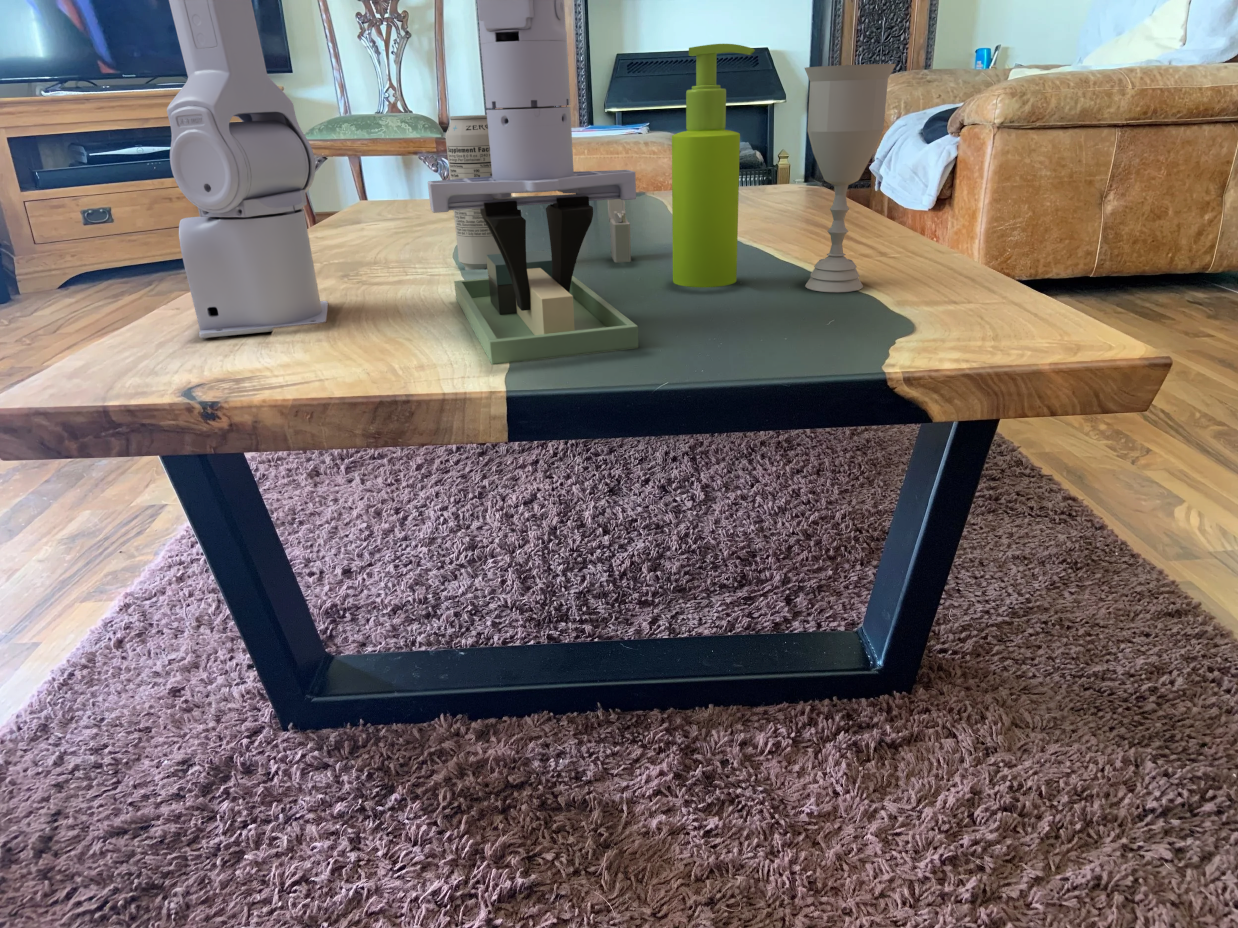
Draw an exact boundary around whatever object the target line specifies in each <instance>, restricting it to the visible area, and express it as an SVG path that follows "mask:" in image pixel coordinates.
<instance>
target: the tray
mask: <svg viewBox="0 0 1238 928" xmlns="http://www.w3.org/2000/svg"><path fill="white" fill-rule="evenodd" d="M453 282H454V291H455V292H454V293H455V299H456V301H457V303H458V305H459V307H460V308H461V310H462V313H463V314H464V316H465V318H466V320H467V322H468V324H469V325H470V327H471V329H472V330H473V332H474V334H475V336H476V338H477V340H478V341H479V344H480V345H481V347H482V349H483V351H484V353H485V355H486V356H487V359H488V360H489V362H490V364H491V365H492V366H494V365H501V364H503V365H504V364H511V363H520V362H527V361H529V362H530V361H537V360H538V361H539V360H546V359H555V358H556V359H557V358H564V357H571V356H581V355H588V354H589V355H590V354H599V353H607V352H615V351H616V352H617V351H624V350H633V349H634V350H635V349H639V326H638V325H637V324H636V323H635V322H633V321H632V320H631V319H629V317H627V316H626V315H624V314H623V313H621V311H619V310H618V309H616V308H615V307H614V306H613V305H611V304H610V303H609V302H608V301H606V300H605V299H603V297H601V295H599V294H597V293H596V292H595V291H594V290H592V289H591V288H590V287H588V286H587V285H586V284H584V283H583V282H581V280H580V279H578V278H577V277H575V276H574V274H573V275H572V280H571V286H570V292H569V293H570V294H571V295H572V296H573V310H574V329H575V331H568V332H558V333H549V334H540V335H534V334H533V333H532V331H531V330H530V329H529V328H528V326H527V325H526V324H525V323H524V321H523V320H522V319H521V317H520V316H519V315H518V314H517V313H513V314H503V315H500V314H499V312H498V311H497V310H496V308H495V307H494V305H493V304H492V303H491V300H490V289H489V279H488V277H483V278H472V279H461V280H460V279H459V280H454V281H453Z"/></svg>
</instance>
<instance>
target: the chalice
mask: <svg viewBox="0 0 1238 928" xmlns="http://www.w3.org/2000/svg"><path fill="white" fill-rule="evenodd" d="M896 65H897V63H870V64H866V63H865V64H845V65H844V64H843V65H842V64H841V65H823V66H808V67H807V66H806V67H804V71H805V73H806V75H807V78H808V80H809V94H808V95H809V96H808V114H807V135H808V139H809V143H810V145H811V150H812V154H813V157H814V159H815V161H816V163H817V165H818V166H817V167H818V168H819V171H820V174H821V175H822V178H823V181H825V182H827V183H828V184H830V185H833V189H834V190H833V191H834V198H833V202H832V205H831V207H830V208H829V210H830V212H831V214H832V223H831V226H830V228H828V230H827V233H828V234H829V235H830V241H831V243H830V244H831V245H830V250H829V253H826V257H824V258H821V259H819V260H818V261H817V262H816V263H815V264H814V265H813V267H814V268H813V270H812V272H810V275H809V279H808V280H807V282H806V284H805V286H804V287H805V288H807V289H808V290H811V291H817V292H822V293H823V292H824V293H849V292H855V291H860V290H861V289H863V288H864V285H863V284H862V282H861V280H860V274H859V272H858V270H857V267H858V266H857V265H856V263H855V262H854V260H853V259H850V258H847V257H846V253H844V250H843V243H844V240H845V236H846V234H847V233H848V232H849V229H848V228H847V227H846V223H845V218H846V216H847V213H848V211H850V207H849V206H848V202H847V192H848V190H849V189H848V188H849V185H852V184H854V183H856V182H858V181H859V180H860V179H861V177H862V175H863V174H864V171H865V169H866V168H867V166H868V164H869V162H870V160H871V158H872V157H873V155H874V153H875V151H876V149H877V146H878V144H879V142H880V139H881V136H882V134H883V132H884V127H885V116H886V106H887V105H886V104H887V96H888V95H887V93H888V83H889V78H890V76H891V75H892V73H893V71H894V69H895V67H896Z"/></svg>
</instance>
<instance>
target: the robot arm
mask: <svg viewBox="0 0 1238 928" xmlns="http://www.w3.org/2000/svg"><path fill="white" fill-rule="evenodd" d="M168 2H169V7H170V10H171V11H170V12H171V15H172V19H173V23H174V27H175V31H176V34H177V39H178V42H179V46H180V47H179V48H180V51H181V55H182V58H183V62H184V67H185V71H186V75H187V80H186V81H185V84H184V85H183V86H182V87H181V89H180V90H179V91H178V92H177V94H176V95H175V96H174V98H173V99H172V100H171V101H170V103H169V104H168V105H167V107H166V113H167V117H168V121H169V125H170V132H171V142H170V149H169V162H170V164H169V165H170V168H171V173H172V176H173V179H174V181H175V183H176V185H177V187H178V189H179V190H180V192H181V193H182V194H183V196H184V197H185V198H186V199H187V200H188V201H189V202H190V203H191V204H193V206H195V207H197V210H198V214H199V215H198V216H192V217H191V216H190V217H184V218H181V219H180V220H179V224H178V238H179V247H180V252H181V258H182V262H183V267H184V270H185V274H186V279H187V283H188V287H189V291H190V296H191V299H192V303H193V308H194V312H195V315H196V320H197V324H198V329H199V332H198V335H199V338H201V339H208V338H218V337H219V338H220V337H228V336H237V335H238V336H239V335H249V334H260V333H270V332H273V330H274V329H278V328H279V329H280V328H291V327H301V326H311V325H321V324H325V323H327V319H328V309H329V301H327V300H321V299H320V291H319V287H318V286H319V285H318V281H317V275H316V270H315V265H314V264H315V263H314V258H313V253H312V247H311V242H310V236H309V230H308V226H307V220H306V214H305V209H304V207H305V206H307V205H308V202H307V201H308V200H307V196H306V193H307V192H308V191H309V190H310V188H311V187H312V185H313V182H314V180H315V176H316V158H315V154H314V153H315V152H314V151H313V148H312V145H311V144H310V142H309V139H308V138H307V137H306V135H305V134H304V132H303V130H302V128H301V127H300V123H299V122H298V119H297V115H296V112H295V107H294V102H293V101H292V100H291V99H290V98H289V96H288V95H286V93H285V92H284V91H283V90H282V89H281V88H280V87H279V86H278V85H277V84H276V83H275V82H274V80H273V79H272V78H271V77H270V76H269V74H268V72H267V67H266V62H265V57H264V53H263V49H262V44H261V39H260V34H259V30H258V26H257V20H256V17H255V11H254V7H253V3H252V0H168ZM476 3H477V13H478V14H477V17H478V27H479V43H480V51H481V63H482V73H483V74H482V77H483V86H484V87H483V88H484V98H485V108H486V109H485V110H486V115H487V123H488V134H489V146H490V157H491V168H492V176H486V177H475V178H464V179H452V180H450V179H443V180H441V179H440V180H429V181H427V188H428V197H429V207H430V211H431V212H432V213H434V214H437V213H439V214H440V213H448V212H450V211H454V210H463V209H478V208H480V212H481V215H482V217H483V219H484V221H485V223H486V225H487V227H488V228H489V230H490V232H491V234H492V236H493V238H494V240H495V242H496V244H497V246H498V248H499V250H500V252H501V255H502V257H503V259H504V262H505V264H506V267H507V269H508V272H509V275H510V278H511V281H512V284H513V288H514V292H515V296H516V301H517V306H518V307H519V308H520V309H521V311H525V310H531V302H530V288H529V281H528V274H527V265H526V252H527V231H526V230H527V220H526V219H525V218H524V217H523V216H522V210H521V209H518V207H520V206H536V205H547V206H546V207H545V213H546V221H547V228H548V235H549V244H550V252H551V253H550V255H551V256H552V278H553V279H554V280H555V281H556V282H557V283H558V284H560V285H561V286H562V287H563V288H564V289H565V290H566V291H568V292H570V286H571V280H572V275H573V276H574V271H575V267H576V263H577V260H578V256H579V253H580V251H581V247H582V245H583V242H584V240H585V238H586V235H587V232H588V230H589V229H590V226H591V224H592V222H593V217H594V207H593V206H592V205H590V202H594V201H595V202H596V201H607V200H612V199H621V200H625V201H631V200H637V182H636V181H637V180H636V171H634V170H631V169H612V170H582V171H581V170H580V171H579V170H577V171H574V155H573V154H574V153H573V134H572V113H571V112H572V111H571V93H570V70H569V54H568V53H569V51H568V33H567V29H566V27H567V26H566V11H565V10H566V9H565V7H566V6H565V0H476ZM233 117H235V118H237V119H239V120H240V121H233V122H231V120H232V118H233ZM547 192H548V193H550V192H558V193H562V194H554V195H551V194H550V195H538V196H537V195H535V196H522V197H511V198H507V197H510V193H511V194H534V193H547ZM493 198H505V199H493Z"/></svg>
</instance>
